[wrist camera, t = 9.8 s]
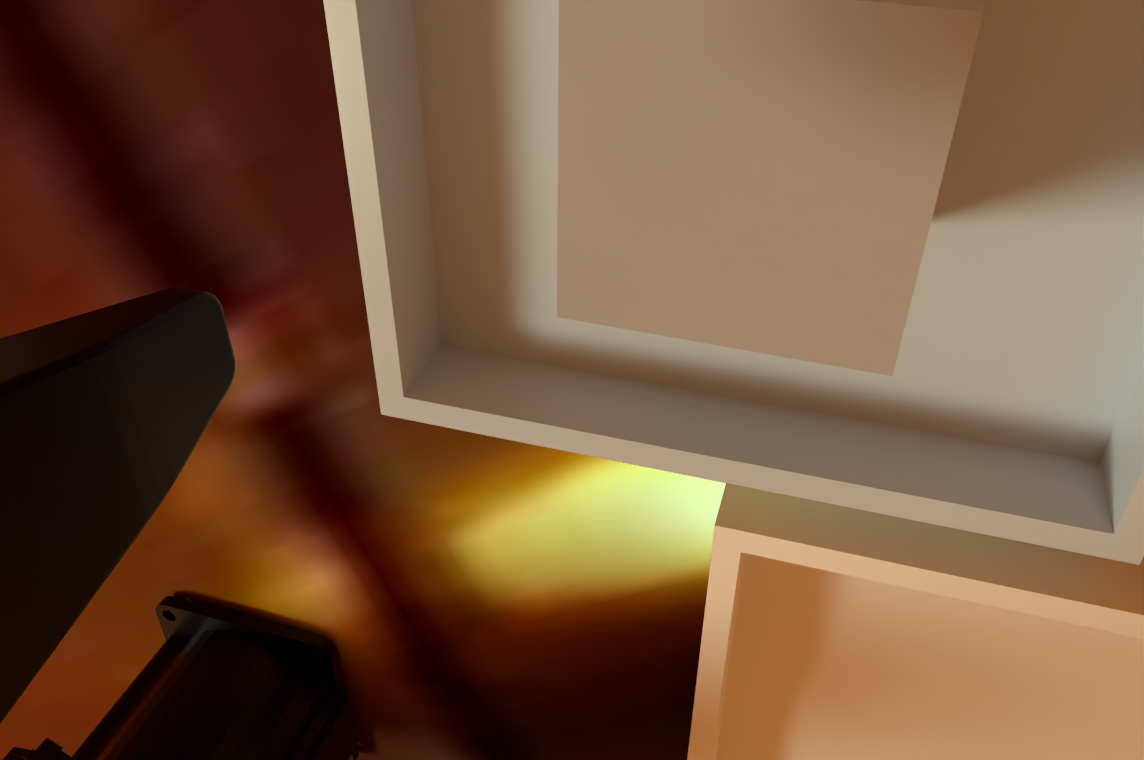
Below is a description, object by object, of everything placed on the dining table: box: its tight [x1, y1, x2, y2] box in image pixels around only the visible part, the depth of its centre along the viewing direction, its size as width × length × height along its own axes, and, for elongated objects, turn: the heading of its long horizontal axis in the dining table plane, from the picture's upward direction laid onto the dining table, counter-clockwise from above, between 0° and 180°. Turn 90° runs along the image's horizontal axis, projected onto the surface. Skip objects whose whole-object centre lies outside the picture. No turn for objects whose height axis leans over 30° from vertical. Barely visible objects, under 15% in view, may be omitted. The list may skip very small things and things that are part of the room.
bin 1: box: [323, 0, 1144, 565], centre depth 16 cm, size 15×15×2 cm
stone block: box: [557, 0, 984, 376], centre depth 15 cm, size 5×5×5 cm
